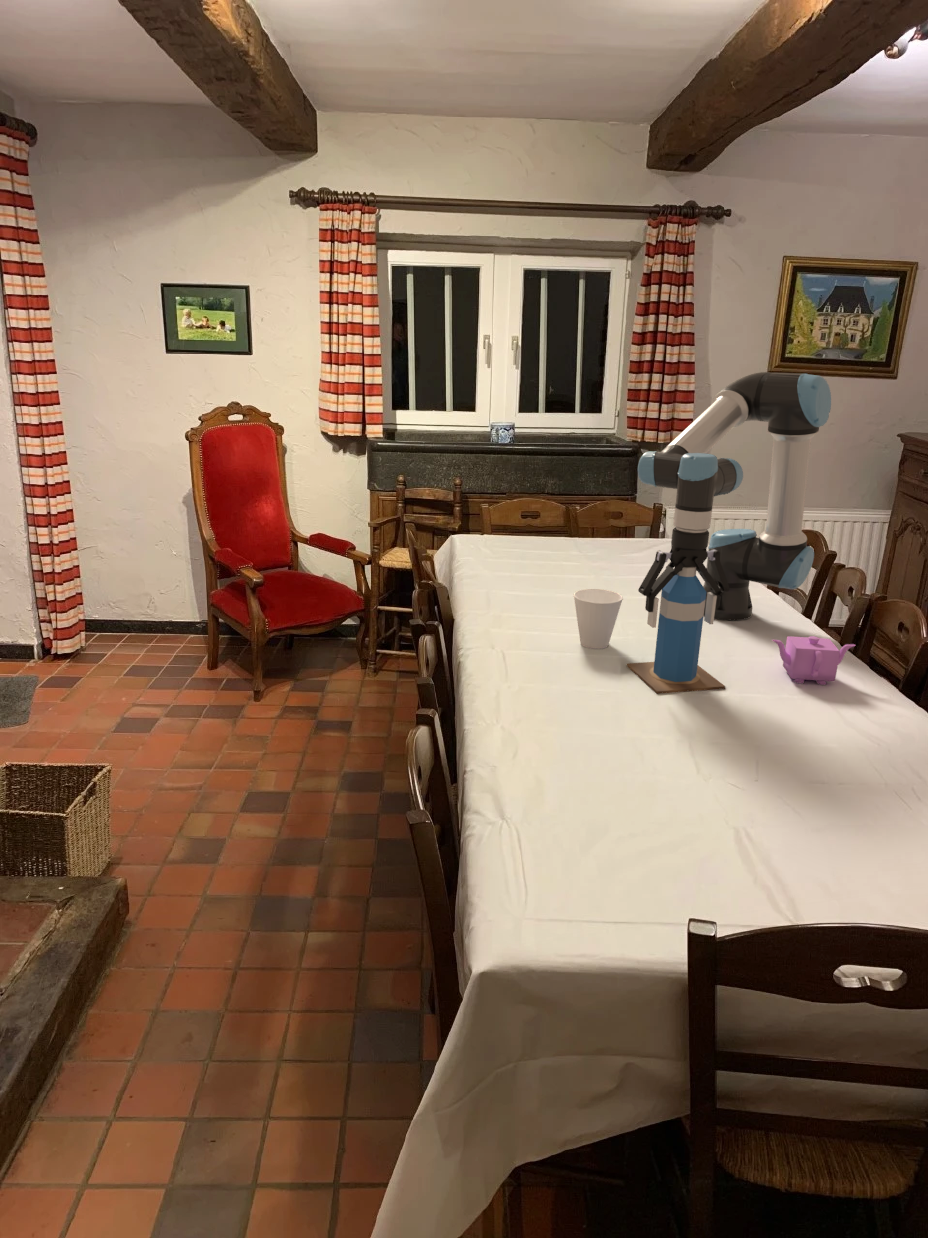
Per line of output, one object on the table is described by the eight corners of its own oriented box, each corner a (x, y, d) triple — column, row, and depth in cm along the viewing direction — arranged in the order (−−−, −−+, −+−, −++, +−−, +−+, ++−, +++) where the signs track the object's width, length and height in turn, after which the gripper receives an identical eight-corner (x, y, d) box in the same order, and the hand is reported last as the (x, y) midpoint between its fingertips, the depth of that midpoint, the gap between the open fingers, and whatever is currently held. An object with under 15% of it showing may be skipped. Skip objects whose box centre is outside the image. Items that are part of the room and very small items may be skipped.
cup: (628, 644, 206) (632, 596, 202) (600, 656, 198) (604, 606, 194) (588, 632, 214) (591, 585, 210) (560, 643, 205) (563, 595, 201)
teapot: (839, 668, 194) (846, 629, 191) (857, 691, 182) (865, 649, 178) (759, 663, 196) (765, 624, 193) (772, 685, 183) (778, 644, 180)
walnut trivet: (690, 661, 196) (690, 658, 196) (725, 688, 181) (725, 685, 181) (626, 665, 192) (626, 663, 192) (656, 694, 178) (657, 690, 177)
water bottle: (697, 684, 181) (711, 573, 173) (653, 680, 183) (665, 569, 175) (694, 668, 190) (707, 561, 182) (652, 664, 192) (663, 558, 184)
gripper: (735, 523, 182) (723, 615, 189) (628, 526, 176) (620, 621, 183) (754, 530, 175) (740, 626, 182) (643, 534, 170) (634, 632, 176)
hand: (680, 624), depth 183 cm, fingers open, 13 cm apart
